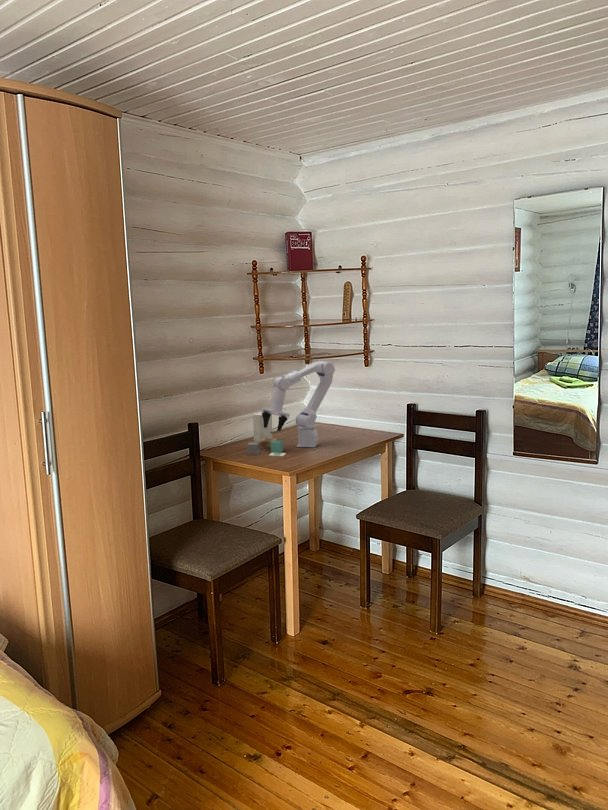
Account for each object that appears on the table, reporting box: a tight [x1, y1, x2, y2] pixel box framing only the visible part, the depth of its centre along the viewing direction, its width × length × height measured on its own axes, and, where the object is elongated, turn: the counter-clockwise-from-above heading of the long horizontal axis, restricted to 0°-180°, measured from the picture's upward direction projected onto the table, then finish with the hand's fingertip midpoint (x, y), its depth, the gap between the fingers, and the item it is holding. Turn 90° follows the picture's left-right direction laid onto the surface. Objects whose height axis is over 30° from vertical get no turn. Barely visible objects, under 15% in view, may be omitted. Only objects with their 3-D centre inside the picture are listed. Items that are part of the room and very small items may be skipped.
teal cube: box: [270, 439, 285, 453], centre depth 318 cm, size 5×5×5 cm
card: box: [268, 452, 287, 457], centre depth 311 cm, size 7×5×1 cm
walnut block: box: [258, 437, 279, 450], centre depth 328 cm, size 8×8×4 cm
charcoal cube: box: [246, 441, 261, 456], centre depth 315 cm, size 5×5×5 cm
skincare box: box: [252, 412, 273, 442], centre depth 340 cm, size 8×6×15 cm
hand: (272, 429), depth 319 cm, fingers open, 7 cm apart
